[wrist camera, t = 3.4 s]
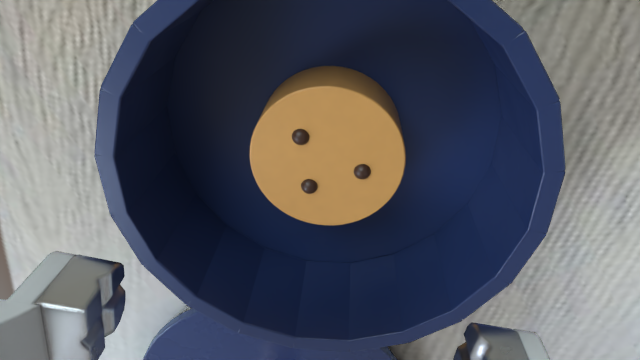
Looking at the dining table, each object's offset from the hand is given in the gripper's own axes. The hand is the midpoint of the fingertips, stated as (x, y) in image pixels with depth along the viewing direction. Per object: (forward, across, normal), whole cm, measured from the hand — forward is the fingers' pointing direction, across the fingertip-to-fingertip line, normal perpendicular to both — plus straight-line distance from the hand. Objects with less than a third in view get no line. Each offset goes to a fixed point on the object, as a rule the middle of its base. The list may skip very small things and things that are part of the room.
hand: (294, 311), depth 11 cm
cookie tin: (+11, 0, 0) cm, 11 cm away
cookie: (+10, 0, 0) cm, 11 cm away
